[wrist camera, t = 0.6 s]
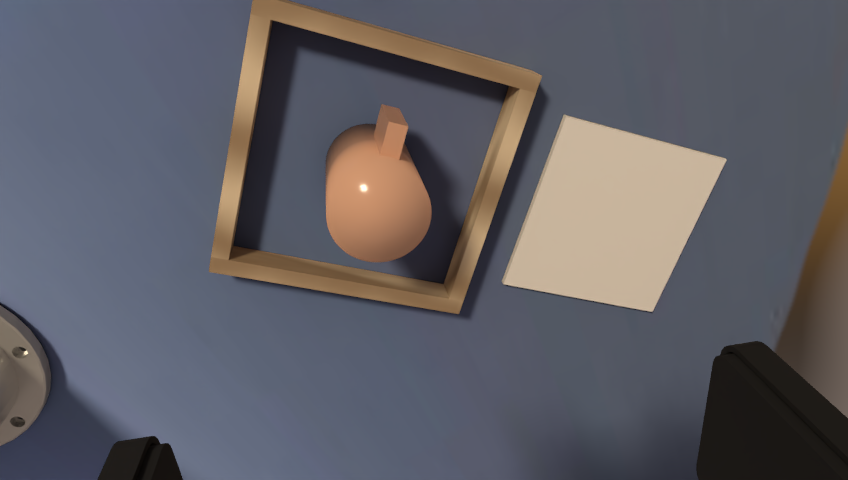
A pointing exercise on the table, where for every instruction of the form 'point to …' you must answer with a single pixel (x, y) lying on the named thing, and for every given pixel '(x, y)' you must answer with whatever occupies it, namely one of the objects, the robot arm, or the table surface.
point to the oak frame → (343, 279)
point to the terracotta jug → (375, 191)
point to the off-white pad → (610, 215)
